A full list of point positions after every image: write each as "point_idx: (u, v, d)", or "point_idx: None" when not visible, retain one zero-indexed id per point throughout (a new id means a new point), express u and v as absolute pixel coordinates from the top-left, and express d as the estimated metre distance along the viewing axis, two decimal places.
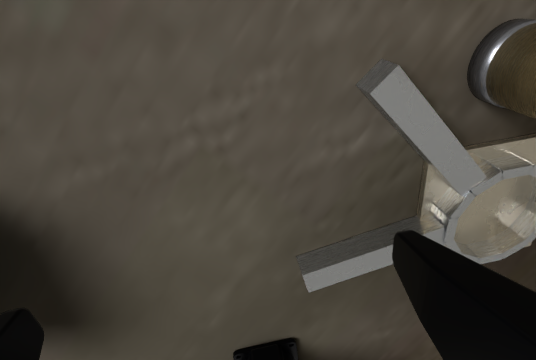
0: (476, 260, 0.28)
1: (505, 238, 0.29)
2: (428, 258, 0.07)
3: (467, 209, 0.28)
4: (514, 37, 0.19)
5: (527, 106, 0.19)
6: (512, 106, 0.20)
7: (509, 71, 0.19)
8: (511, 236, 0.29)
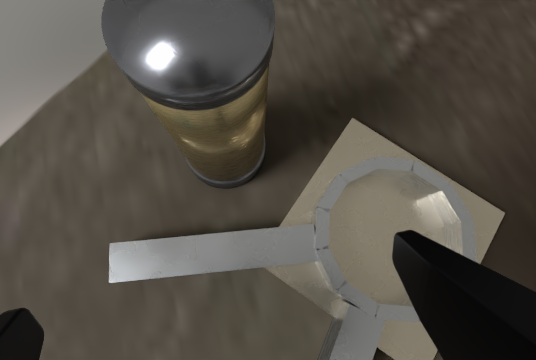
0: None
1: (452, 239, 0.20)
2: (428, 258, 0.07)
3: (369, 258, 0.21)
4: None
5: (212, 167, 0.18)
6: (224, 173, 0.19)
7: (189, 162, 0.19)
8: (452, 231, 0.20)
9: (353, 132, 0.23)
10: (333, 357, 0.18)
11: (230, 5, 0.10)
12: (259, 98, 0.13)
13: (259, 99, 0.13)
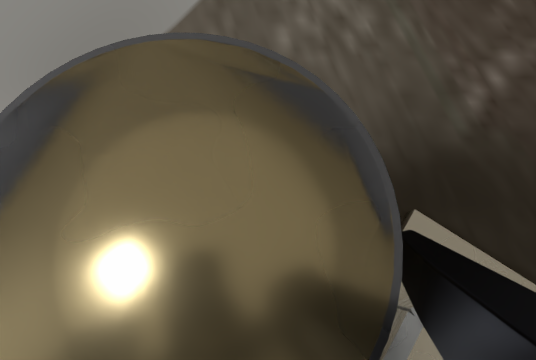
0: None
1: None
2: (428, 258, 0.07)
3: None
4: None
5: None
6: None
7: None
8: None
9: (417, 231, 0.16)
10: None
11: (282, 195, 0.04)
12: None
13: None
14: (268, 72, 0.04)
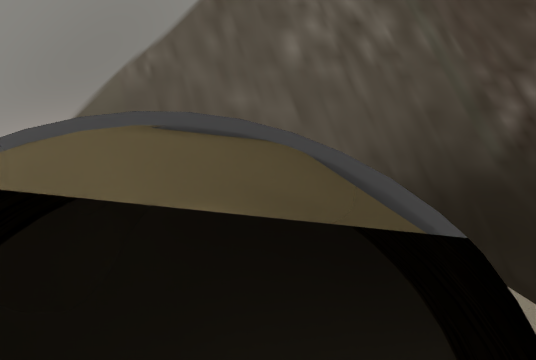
0: None
1: None
2: None
3: None
4: None
5: None
6: None
7: None
8: None
9: None
10: None
11: None
12: None
13: None
14: (333, 201, 0.02)
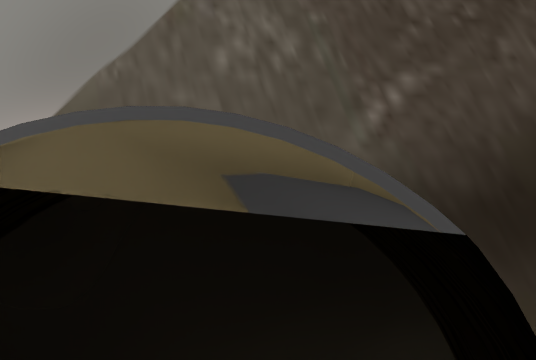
0: None
1: None
2: None
3: None
4: None
5: None
6: None
7: None
8: None
9: None
10: None
11: None
12: None
13: None
14: (328, 195, 0.02)
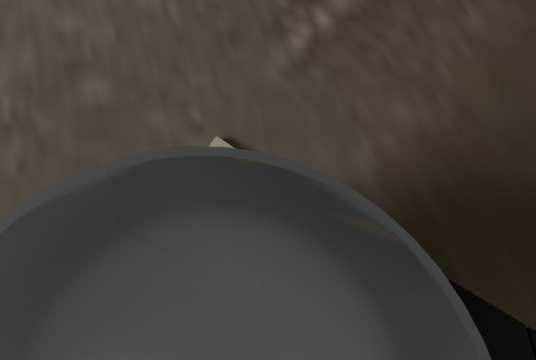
0: None
1: None
2: None
3: None
4: None
5: None
6: None
7: None
8: None
9: None
10: None
11: None
12: None
13: None
14: (318, 205, 0.03)
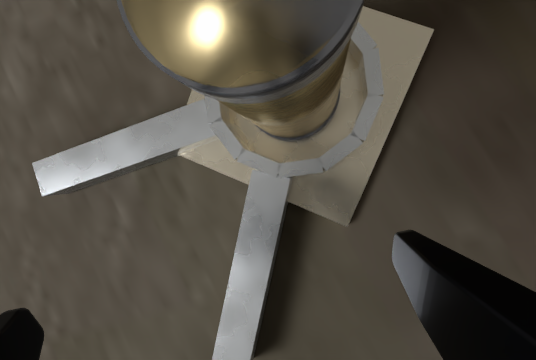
0: (353, 138, 0.17)
1: (362, 77, 0.18)
2: (428, 258, 0.07)
3: None
4: None
5: (289, 131, 0.15)
6: (303, 131, 0.16)
7: None
8: (362, 68, 0.18)
9: None
10: (244, 220, 0.18)
11: None
12: (348, 44, 0.09)
13: (348, 45, 0.09)
14: None
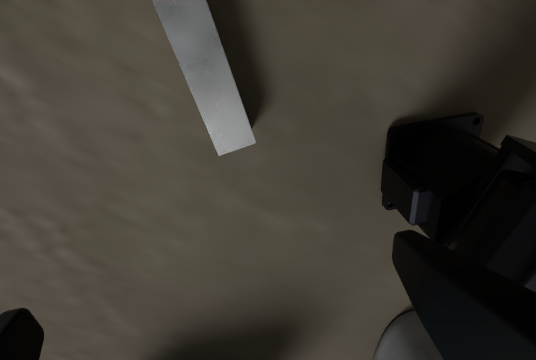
0: None
1: None
2: (428, 258, 0.07)
3: None
4: None
5: None
6: None
7: None
8: None
9: None
10: None
11: None
12: None
13: None
14: None
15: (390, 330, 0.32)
